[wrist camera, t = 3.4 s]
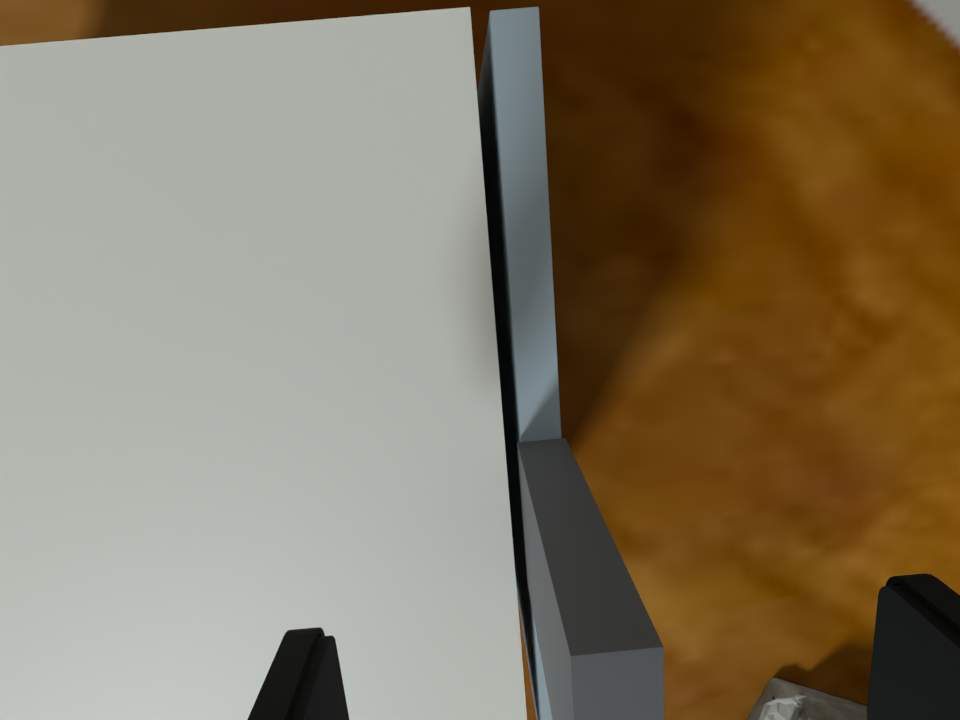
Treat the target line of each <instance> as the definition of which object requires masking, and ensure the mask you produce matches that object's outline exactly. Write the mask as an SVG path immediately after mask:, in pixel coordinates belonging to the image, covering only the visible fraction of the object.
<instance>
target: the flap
mask: <svg viewBox="0 0 960 720" xmlns="http://www.w3.org/2000/svg"><path fill="white" fill-rule="evenodd" d="M477 100H478V113H479V125H480V138H481V150H482V163H483V175H484V188H485V200H486V213H487V225H488V238H489V250H490V263H491V275H492V288H493V300H494V313H495V326H496V338H497V351H498V363H499V376H500V388H501V401H502V413H503V426H504V438H505V451H506V463H507V476H508V488H509V501H510V513H511V526H512V538H513V551H514V563H515V576H516V587H517V594H518V600H519V607H520V614H521V620H522V627H523V633H524V640H525V646H526V653H527V659H528V666H529V672H530V679H531V686H532V692H533V699H534V705H535V712H536V718H537V720H664V673H663V645H662V643H661V641H660V639H659V637H658V634H657V632H656V630H655V628H654V626H653V624H652V622H651V619H650V617H649V615H648V613H647V611H646V609H645V607H644V605H643V602H642V600H641V598H640V596H639V594H638V592H637V590H636V587H635V585H634V583H633V581H632V579H631V577H630V575H629V572H628V570H627V568H626V566H625V564H624V562H623V560H622V558H621V555H620V553H619V551H618V549H617V547H616V545H615V543H614V540H613V538H612V536H611V534H610V532H609V530H608V528H607V526H606V523H605V521H604V519H603V517H602V515H601V513H600V511H599V508H598V506H597V504H596V502H595V500H594V498H593V496H592V493H591V491H590V489H589V487H588V485H587V483H586V481H585V479H584V476H583V474H582V472H581V470H580V468H579V466H578V464H577V461H576V459H575V457H574V455H573V453H572V451H571V449H570V447H569V444H568V442H567V440H566V438H561V421H560V402H559V383H558V364H557V345H556V326H555V307H554V288H553V269H552V250H551V231H550V212H549V193H548V174H547V155H546V136H545V117H544V98H543V79H542V60H541V41H540V22H539V7H529V8H517V9H505V10H493V11H490V14H489V20H488V27H487V33H486V40H485V46H484V53H483V59H482V65H481V72H480V78H479V85H478V91H477Z"/></svg>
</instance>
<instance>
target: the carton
mask: <svg viewBox="0 0 960 720" xmlns="http://www.w3.org/2000/svg"><path fill="white" fill-rule="evenodd" d="M317 627H321V628H322V629H323V631H324V634H325V636H331V635H332V636H334V638H335V641H336V646H337V652H338V657H339V663H340V669H341V674H342V680H343V686H344V692H345V697H346V703H347V709H348V714H349V720H527V714H526V701H525V688H524V676H523V663H522V651H521V638H520V626H519V613H518V601H517V588H516V576H515V563H514V551H513V538H512V526H511V513H510V501H509V488H508V476H507V463H506V451H505V438H504V426H503V413H502V401H501V388H500V376H499V363H498V351H497V338H496V326H495V313H494V300H493V288H492V275H491V263H490V250H489V238H488V225H487V213H486V200H485V188H484V175H483V163H482V150H481V138H480V125H479V113H478V100H477V88H476V75H475V63H474V50H473V38H472V25H471V13H470V7H463V8H451V9H439V10H427V11H415V12H403V13H391V14H380V15H368V16H356V17H344V18H332V19H320V20H308V21H296V22H284V23H272V24H260V25H248V26H236V27H224V28H212V29H200V30H189V31H177V32H165V33H153V34H141V35H129V36H117V37H105V38H93V39H81V40H69V41H57V42H45V43H33V44H21V45H10V46H0V720H247V719H248V717H249V715H250V712H251V710H252V708H253V706H254V703H255V701H256V699H257V696H258V694H259V692H260V689H261V687H262V685H263V683H264V680H265V678H266V676H267V673H268V671H269V669H270V666H271V664H272V662H273V659H274V657H275V655H276V653H277V650H278V648H279V646H280V643H281V641H282V639H283V636H284V635H285V633H286V632H287V631H288V630H294V629H305V628H317Z"/></svg>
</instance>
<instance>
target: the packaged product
mask: <svg viewBox="0 0 960 720" xmlns="http://www.w3.org/2000/svg"><path fill="white" fill-rule="evenodd" d="M746 720H867V706H865V705H862V704H859V703H856V702H853V701H849V700H846V699H843V698H839V697H835V696H832V695H829V694H826V693H823V692H820V691H817V690H814V689H811V688H807V687H804V686H801V685H798V684H794V683H791V682H788V681H785V680H781V679H778V678H772V679H771V680H770V681H769V683H768V685H767V686H766V688H765V690H764V691H763V693H762V695H761V696H760V698H759V700H758V701H757V703H756V705H755V706H754V708H753V709H752V711H751V713H750V715H749V716H748V718H747V719H746Z"/></svg>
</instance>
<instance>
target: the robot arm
mask: <svg viewBox="0 0 960 720" xmlns="http://www.w3.org/2000/svg"><path fill="white" fill-rule="evenodd" d="M247 720H349V714H348V709H347V703H346V697H345V692H344V686H343V680H342V674H341V669H340V663H339V657H338V652H337V646H336V641H335V638H334V636H332V635H331V636H325V634H324V631H323V629H322V628H321V627H317V628H305V629H294V630H288V631H287V632H286V633H285V635H284V636H283V639H282V641H281V643H280V646H279V648H278V650H277V653H276V655H275V657H274V659H273V662H272V664H271V666H270V669H269V671H268V673H267V676H266V678H265V680H264V683H263V685H262V687H261V689H260V692H259V694H258V696H257V699H256V701H255V703H254V706H253V708H252V710H251V712H250V715H249V717H248V719H247ZM867 720H960V595H958V594H957V593H956V592H954V591H953V590H952V589H950V588H949V587H948V586H947V585H945V584H944V583H943V582H941V581H940V580H939V579H938V578H936V577H934V576H932V575H930V574H915V575H904V576H894V577H891V578H889V580H888V581H887V583H886V586H885V587H882V588H881V589H880V590H879V594H878V604H877V614H876V624H875V634H874V644H873V654H872V664H871V674H870V684H869V694H868V704H867Z"/></svg>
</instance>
